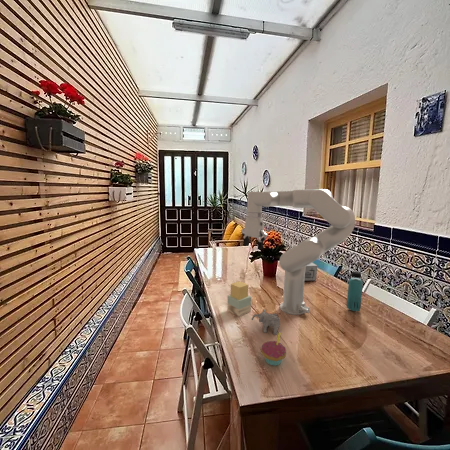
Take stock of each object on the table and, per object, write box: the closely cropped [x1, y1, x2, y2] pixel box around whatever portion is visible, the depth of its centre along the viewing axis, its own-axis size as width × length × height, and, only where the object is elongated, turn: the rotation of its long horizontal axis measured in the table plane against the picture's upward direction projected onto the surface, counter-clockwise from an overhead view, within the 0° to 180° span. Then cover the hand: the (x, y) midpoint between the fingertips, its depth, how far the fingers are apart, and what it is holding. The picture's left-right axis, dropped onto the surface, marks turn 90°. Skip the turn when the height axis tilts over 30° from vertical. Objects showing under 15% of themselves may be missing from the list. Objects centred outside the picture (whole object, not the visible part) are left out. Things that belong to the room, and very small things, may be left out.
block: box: [229, 280, 249, 300], centre depth 124 cm, size 6×6×6 cm
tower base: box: [227, 303, 252, 318], centre depth 126 cm, size 8×8×4 cm
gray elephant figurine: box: [250, 308, 281, 336], centre depth 109 cm, size 9×12×8 cm
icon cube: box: [304, 262, 318, 282], centre depth 174 cm, size 10×10×10 cm
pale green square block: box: [227, 294, 252, 309], centre depth 125 cm, size 8×8×4 cm
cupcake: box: [260, 330, 287, 366], centre depth 88 cm, size 9×8×12 cm
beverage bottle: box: [346, 271, 363, 312], centre depth 127 cm, size 6×7×20 cm
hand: (253, 247), depth 137 cm, fingers open, 9 cm apart
